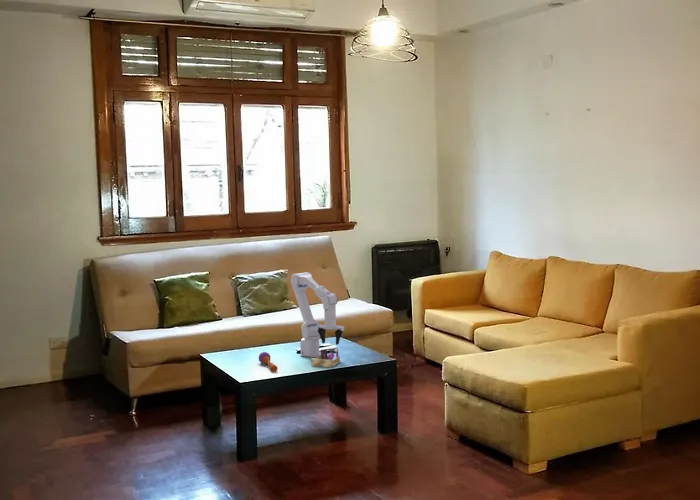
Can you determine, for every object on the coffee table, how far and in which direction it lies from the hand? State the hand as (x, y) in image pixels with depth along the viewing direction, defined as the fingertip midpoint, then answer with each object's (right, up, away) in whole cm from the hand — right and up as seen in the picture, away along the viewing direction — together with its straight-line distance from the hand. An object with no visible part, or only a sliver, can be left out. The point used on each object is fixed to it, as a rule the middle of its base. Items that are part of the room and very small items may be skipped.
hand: (330, 343), depth 390 cm
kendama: (-31, -11, -8) cm, 34 cm away
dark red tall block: (-1, -9, 0) cm, 9 cm away
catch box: (-3, -10, -5) cm, 11 cm away
